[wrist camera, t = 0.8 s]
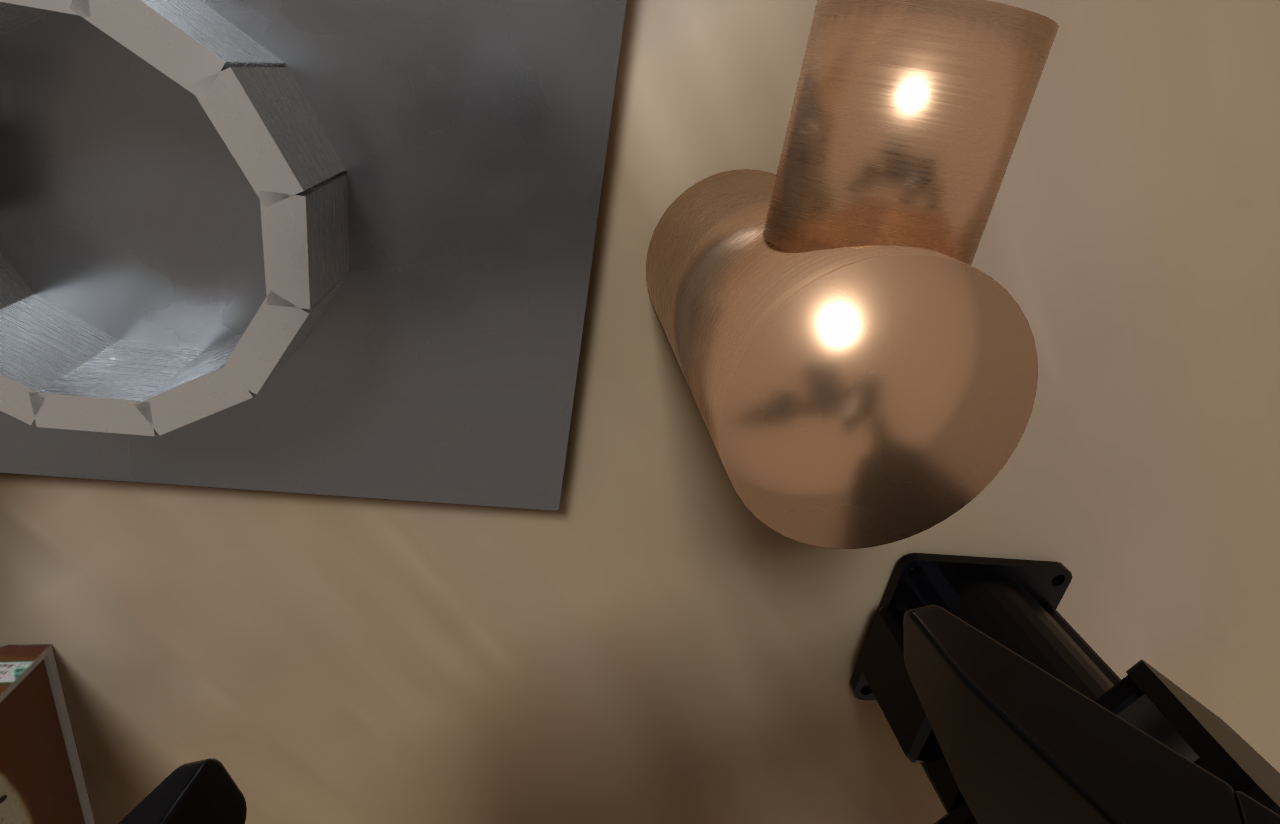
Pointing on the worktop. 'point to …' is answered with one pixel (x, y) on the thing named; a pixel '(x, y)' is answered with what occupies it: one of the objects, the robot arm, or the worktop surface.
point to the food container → (37, 743)
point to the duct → (300, 241)
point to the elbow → (863, 277)
